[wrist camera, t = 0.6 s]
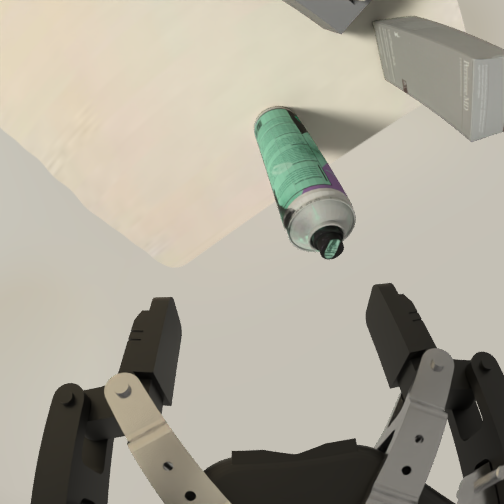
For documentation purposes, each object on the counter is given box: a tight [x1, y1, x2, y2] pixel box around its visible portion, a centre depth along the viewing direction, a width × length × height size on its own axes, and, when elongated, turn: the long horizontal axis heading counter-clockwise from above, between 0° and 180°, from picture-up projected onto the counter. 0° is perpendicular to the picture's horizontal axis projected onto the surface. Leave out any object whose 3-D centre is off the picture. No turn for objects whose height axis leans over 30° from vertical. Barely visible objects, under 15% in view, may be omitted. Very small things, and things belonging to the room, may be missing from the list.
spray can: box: [254, 106, 356, 259], centre depth 27 cm, size 6×6×20 cm
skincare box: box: [372, 16, 504, 142], centre depth 21 cm, size 8×7×16 cm
